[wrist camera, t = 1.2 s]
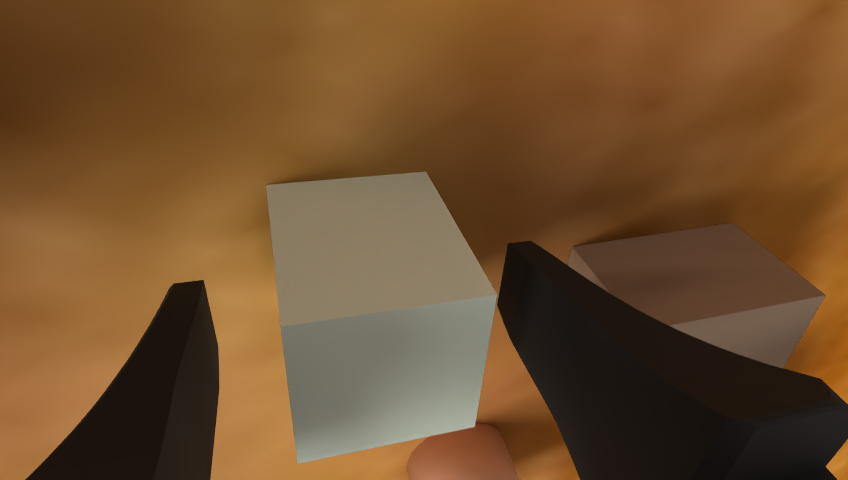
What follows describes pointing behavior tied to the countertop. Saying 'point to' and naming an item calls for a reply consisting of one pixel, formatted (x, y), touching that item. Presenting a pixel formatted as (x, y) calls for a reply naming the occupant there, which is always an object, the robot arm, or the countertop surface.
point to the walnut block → (708, 287)
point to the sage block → (376, 312)
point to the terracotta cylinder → (463, 456)
